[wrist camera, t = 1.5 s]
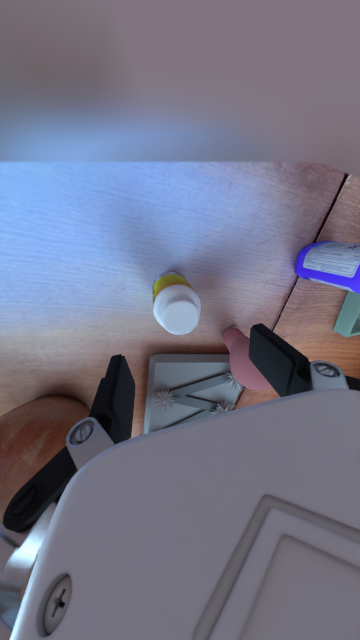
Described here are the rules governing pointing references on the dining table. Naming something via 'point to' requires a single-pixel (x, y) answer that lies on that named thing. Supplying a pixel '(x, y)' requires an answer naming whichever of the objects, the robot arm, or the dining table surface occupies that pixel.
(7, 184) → the dining table surface
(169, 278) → the supplement bottle
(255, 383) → the light bulb
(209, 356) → the decorative plate
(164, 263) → the dining table surface
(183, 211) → the dining table surface
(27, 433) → the jug
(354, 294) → the dish rack
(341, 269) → the bottle
